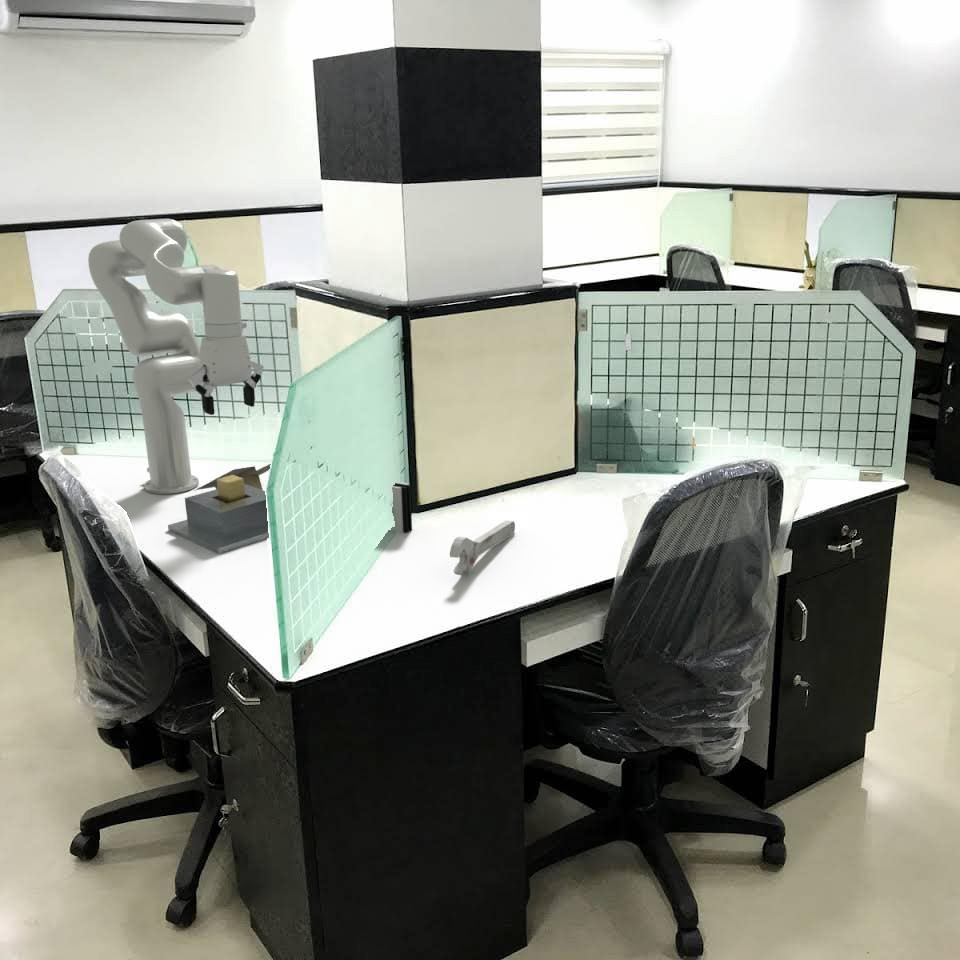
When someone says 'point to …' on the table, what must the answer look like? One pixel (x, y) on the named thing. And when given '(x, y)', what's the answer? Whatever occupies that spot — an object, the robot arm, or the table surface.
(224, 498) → the brass pin
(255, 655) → the table surface
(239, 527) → the collar block
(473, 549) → the wrench
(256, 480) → the beige piece
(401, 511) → the hinge
